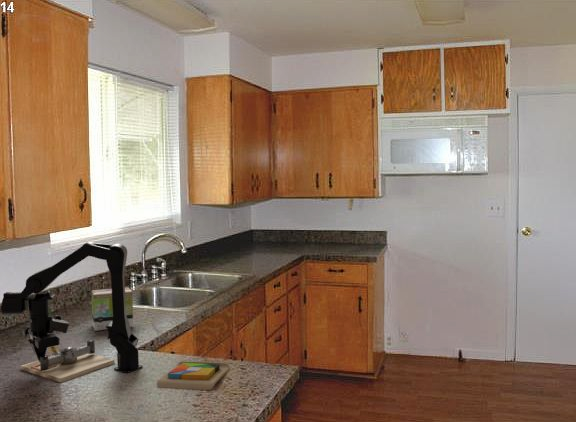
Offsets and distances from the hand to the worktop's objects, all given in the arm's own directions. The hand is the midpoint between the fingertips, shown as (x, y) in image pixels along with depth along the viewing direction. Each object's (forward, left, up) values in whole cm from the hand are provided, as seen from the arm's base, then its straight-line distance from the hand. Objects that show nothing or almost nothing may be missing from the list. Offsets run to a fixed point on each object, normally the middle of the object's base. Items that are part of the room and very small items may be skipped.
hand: (41, 362), depth 182 cm
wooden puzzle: (-43, -23, -4) cm, 49 cm away
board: (-1, -8, -4) cm, 9 cm away
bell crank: (+1, -8, -2) cm, 8 cm away
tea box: (+25, -47, -4) cm, 54 cm away
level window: (+2, -2, -2) cm, 3 cm away
